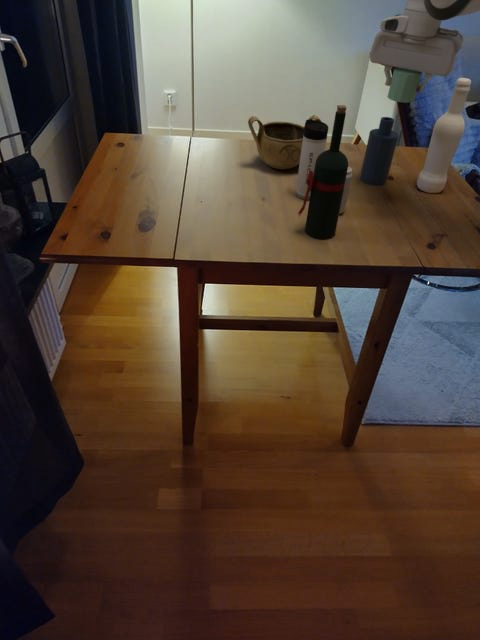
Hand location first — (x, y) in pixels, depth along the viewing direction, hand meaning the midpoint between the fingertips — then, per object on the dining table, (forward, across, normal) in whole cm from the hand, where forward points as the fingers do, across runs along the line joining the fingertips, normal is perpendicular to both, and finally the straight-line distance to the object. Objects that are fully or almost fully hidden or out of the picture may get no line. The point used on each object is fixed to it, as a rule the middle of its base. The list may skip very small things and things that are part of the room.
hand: (403, 88), depth 117 cm
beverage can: (+28, +6, +19) cm, 35 cm away
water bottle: (+28, +3, -7) cm, 29 cm away
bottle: (+28, -13, -12) cm, 33 cm away
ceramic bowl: (+29, +31, +1) cm, 42 cm away
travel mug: (+28, +16, +15) cm, 36 cm away
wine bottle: (+28, +5, +32) cm, 43 cm away
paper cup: (+2, 0, 0) cm, 2 cm away
